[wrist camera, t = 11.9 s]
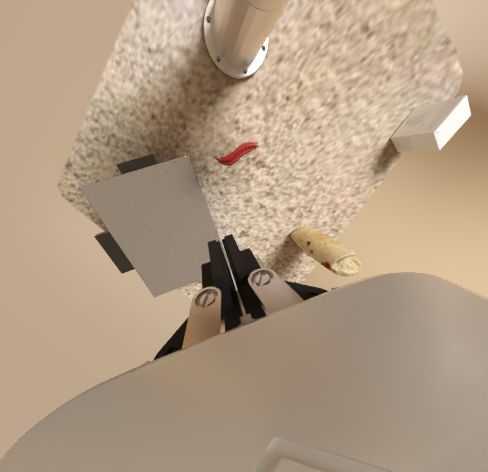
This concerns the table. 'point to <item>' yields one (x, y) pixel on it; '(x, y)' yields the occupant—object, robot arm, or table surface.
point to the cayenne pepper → (237, 153)
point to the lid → (155, 223)
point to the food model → (327, 251)
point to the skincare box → (431, 125)
